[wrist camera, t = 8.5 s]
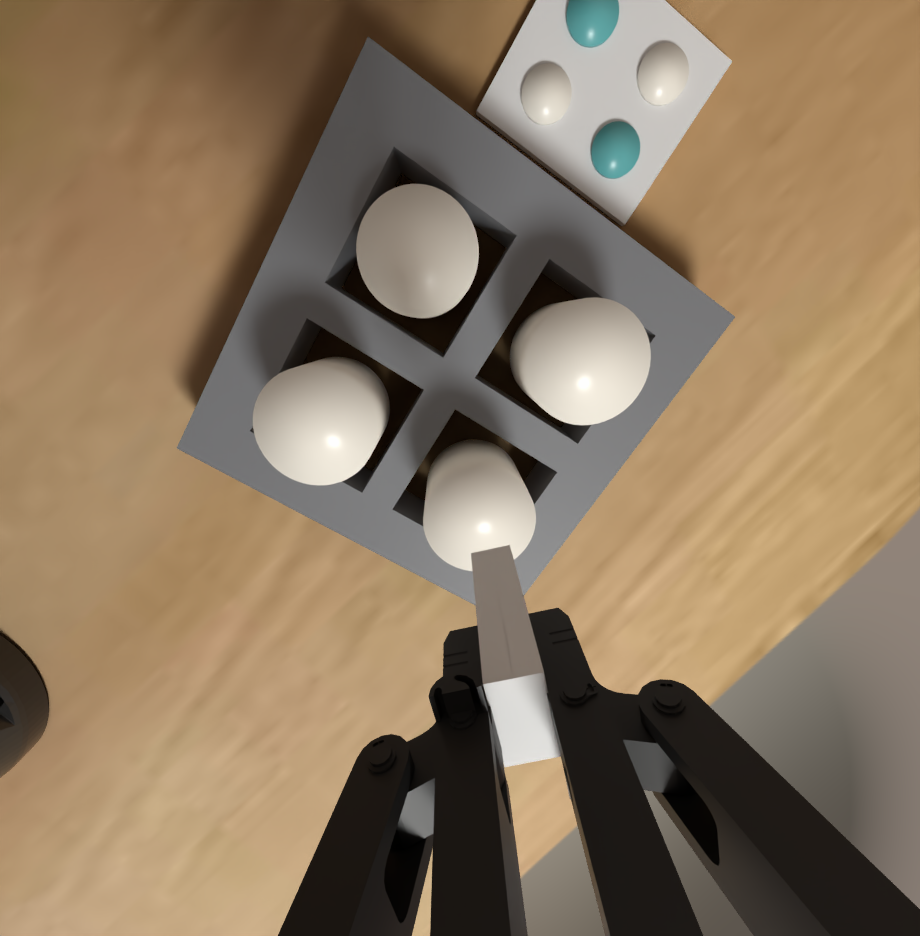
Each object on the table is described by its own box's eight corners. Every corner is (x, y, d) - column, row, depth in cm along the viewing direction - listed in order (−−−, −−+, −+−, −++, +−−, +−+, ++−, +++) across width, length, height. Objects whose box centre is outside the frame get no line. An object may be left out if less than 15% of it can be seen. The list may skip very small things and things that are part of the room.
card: (476, 114, 24) (476, 108, 24) (575, -70, 22) (579, -82, 22) (621, 226, 26) (626, 223, 26) (726, 66, 24) (735, 58, 23)
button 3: (410, 498, 28) (402, 538, 23) (458, 421, 27) (462, 446, 21) (486, 541, 29) (495, 589, 24) (536, 469, 28) (558, 503, 23)
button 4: (490, 371, 26) (502, 384, 21) (547, 281, 25) (575, 270, 19) (569, 422, 27) (600, 447, 22) (628, 339, 26) (676, 343, 20)
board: (211, 431, 29) (176, 448, 25) (380, 81, 24) (368, 36, 20) (497, 586, 33) (504, 620, 30) (695, 317, 28) (735, 316, 24)
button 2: (356, 283, 26) (334, 273, 21) (405, 190, 25) (394, 155, 20) (439, 337, 27) (438, 340, 22) (490, 250, 26) (502, 232, 21)
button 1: (274, 422, 26) (232, 447, 21) (319, 336, 25) (286, 340, 20) (360, 470, 27) (341, 505, 22) (408, 390, 26) (398, 408, 21)
